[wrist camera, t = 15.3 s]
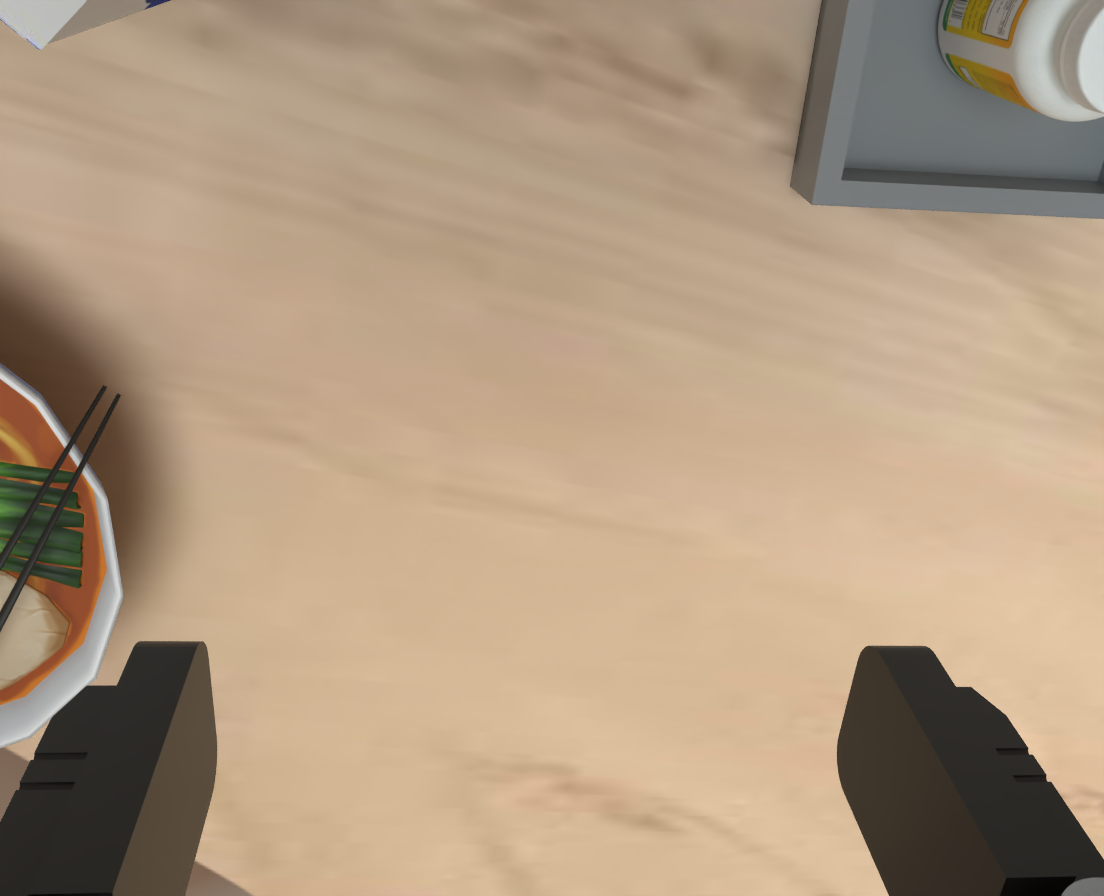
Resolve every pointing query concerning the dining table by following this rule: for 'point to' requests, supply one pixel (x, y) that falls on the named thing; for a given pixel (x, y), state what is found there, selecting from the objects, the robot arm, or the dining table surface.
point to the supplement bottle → (1029, 52)
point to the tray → (929, 127)
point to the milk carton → (64, 16)
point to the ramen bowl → (50, 562)
